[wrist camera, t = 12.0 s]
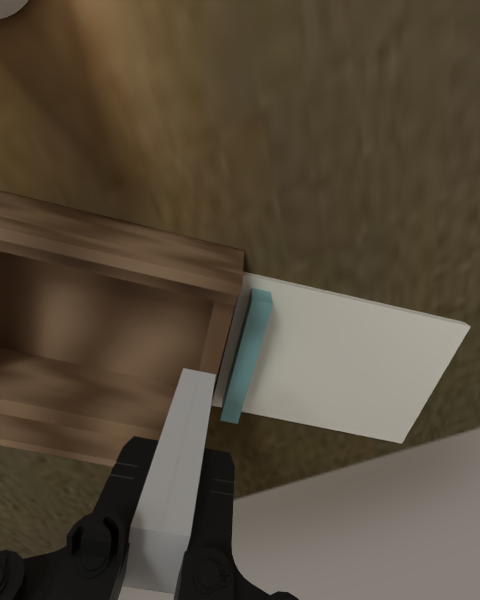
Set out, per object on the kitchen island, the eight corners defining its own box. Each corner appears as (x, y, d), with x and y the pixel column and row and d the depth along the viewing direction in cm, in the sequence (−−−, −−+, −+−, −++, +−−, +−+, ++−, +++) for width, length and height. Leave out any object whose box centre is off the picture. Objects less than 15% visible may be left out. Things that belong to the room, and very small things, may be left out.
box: (-9, 356, 22) (-108, 424, 16) (-24, 184, 17) (-172, 187, 11) (206, 401, 23) (191, 481, 17) (244, 250, 18) (242, 285, 12)
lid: (213, 394, 23) (208, 426, 20) (243, 269, 19) (242, 285, 16) (394, 431, 24) (415, 466, 21) (458, 318, 20) (494, 342, 17)
